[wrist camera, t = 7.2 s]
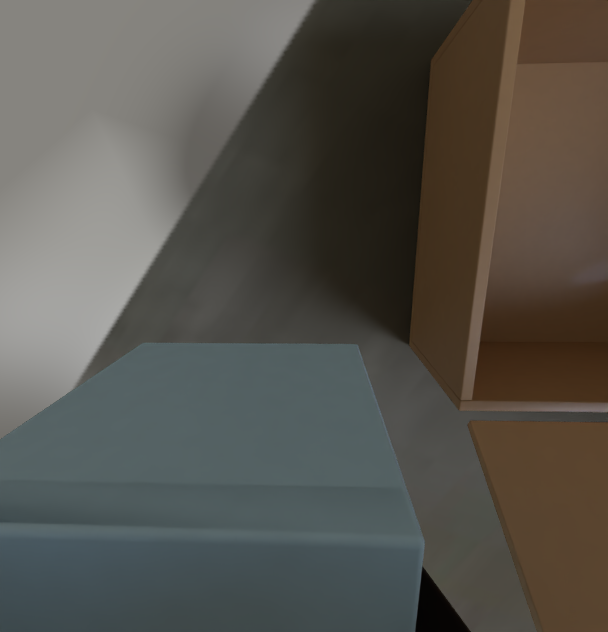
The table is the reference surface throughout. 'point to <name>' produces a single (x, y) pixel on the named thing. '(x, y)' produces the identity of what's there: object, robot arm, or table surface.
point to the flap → (552, 515)
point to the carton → (516, 210)
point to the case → (210, 499)
